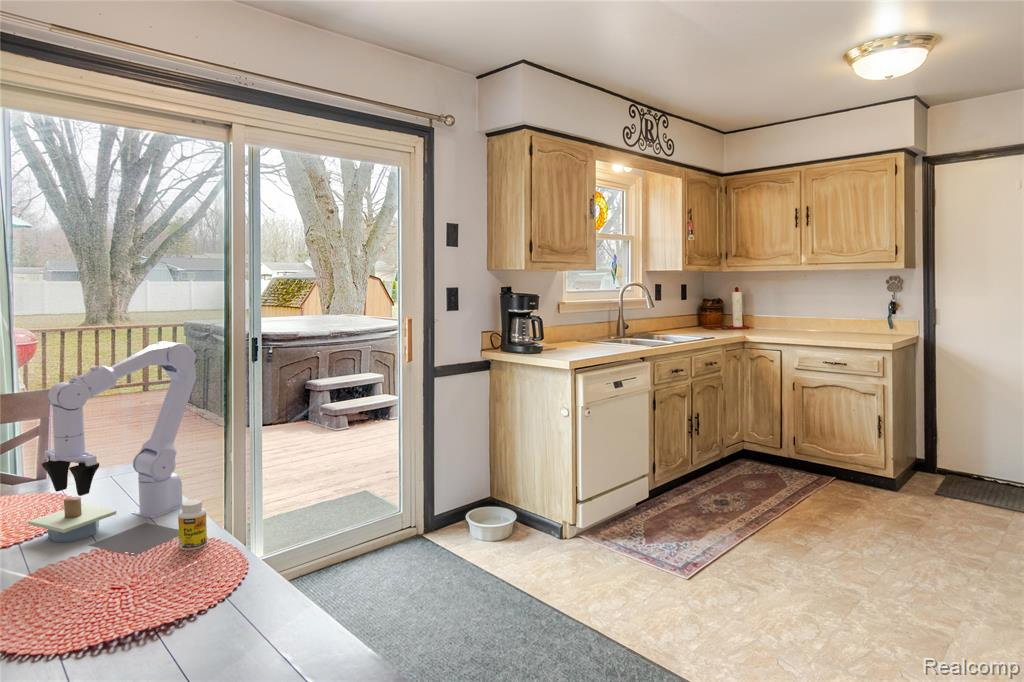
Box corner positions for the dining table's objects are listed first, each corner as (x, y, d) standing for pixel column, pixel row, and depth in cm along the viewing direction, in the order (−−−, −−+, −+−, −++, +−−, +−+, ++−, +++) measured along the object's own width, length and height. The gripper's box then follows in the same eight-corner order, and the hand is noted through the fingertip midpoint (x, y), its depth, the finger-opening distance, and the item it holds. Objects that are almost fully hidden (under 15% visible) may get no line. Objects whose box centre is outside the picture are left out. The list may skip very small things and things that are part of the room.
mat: (145, 524, 150) (145, 522, 149) (188, 533, 145) (188, 531, 145) (88, 546, 136) (88, 545, 136) (133, 557, 132) (133, 555, 132)
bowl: (80, 525, 148) (79, 509, 148) (107, 531, 145) (106, 515, 145) (40, 540, 140) (39, 523, 139) (67, 546, 137) (66, 529, 136)
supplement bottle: (180, 553, 134) (178, 508, 133) (178, 544, 138) (176, 500, 137) (208, 548, 137) (207, 503, 136) (205, 539, 141) (204, 496, 140)
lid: (82, 506, 150) (81, 487, 149) (116, 514, 145) (115, 494, 145) (28, 524, 138) (27, 503, 138) (63, 532, 134) (62, 511, 134)
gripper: (29, 435, 139) (32, 493, 140) (73, 442, 134) (76, 502, 135) (61, 428, 146) (64, 484, 147) (104, 434, 141) (107, 492, 142)
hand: (72, 492), depth 141 cm, fingers open, 7 cm apart
